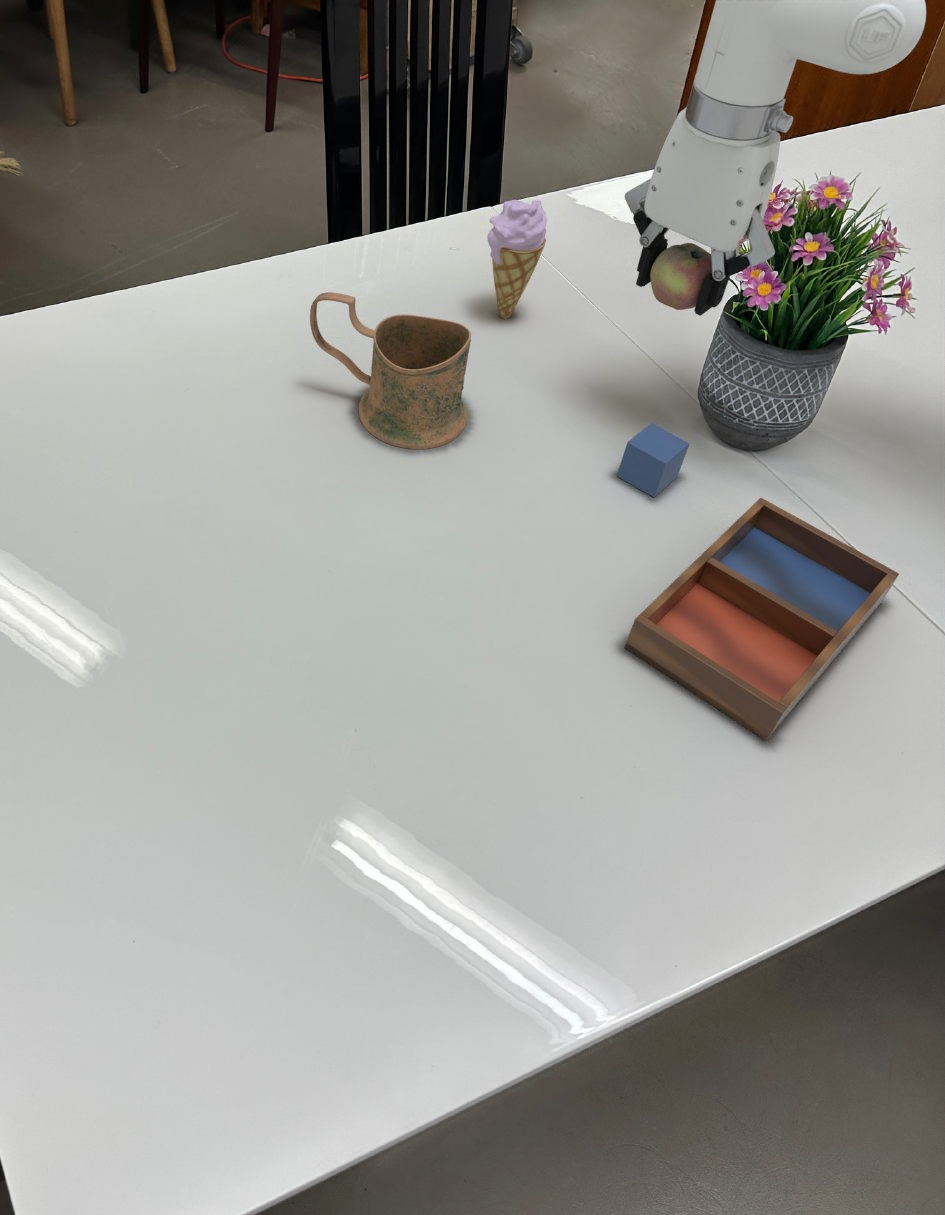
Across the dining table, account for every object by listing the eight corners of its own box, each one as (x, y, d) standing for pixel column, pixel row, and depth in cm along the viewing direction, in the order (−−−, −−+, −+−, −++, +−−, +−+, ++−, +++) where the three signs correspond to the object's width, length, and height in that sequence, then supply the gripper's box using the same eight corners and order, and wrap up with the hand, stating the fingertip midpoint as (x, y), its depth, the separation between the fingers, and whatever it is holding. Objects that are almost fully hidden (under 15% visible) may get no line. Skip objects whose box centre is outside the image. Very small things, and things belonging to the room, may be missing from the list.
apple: (634, 316, 105) (650, 262, 101) (652, 276, 110) (667, 222, 106) (696, 332, 104) (714, 277, 99) (711, 291, 109) (729, 236, 104)
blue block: (640, 456, 113) (651, 422, 109) (677, 477, 111) (690, 443, 108) (616, 476, 111) (627, 441, 107) (653, 498, 109) (666, 463, 105)
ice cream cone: (502, 338, 126) (524, 217, 115) (463, 313, 129) (481, 194, 118) (539, 317, 129) (565, 198, 118) (501, 294, 132) (522, 176, 121)
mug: (328, 357, 122) (332, 261, 113) (479, 396, 118) (496, 300, 109) (289, 417, 114) (290, 319, 105) (449, 460, 111) (464, 363, 102)
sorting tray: (747, 526, 106) (760, 496, 104) (881, 602, 100) (899, 573, 98) (623, 647, 95) (634, 618, 92) (766, 741, 89) (783, 713, 86)
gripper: (845, 131, 91) (773, 317, 104) (669, 66, 98) (623, 247, 112) (802, 159, 87) (733, 348, 100) (623, 89, 95) (581, 273, 108)
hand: (675, 293), depth 106 cm, fingers closed on apple, 6 cm apart
